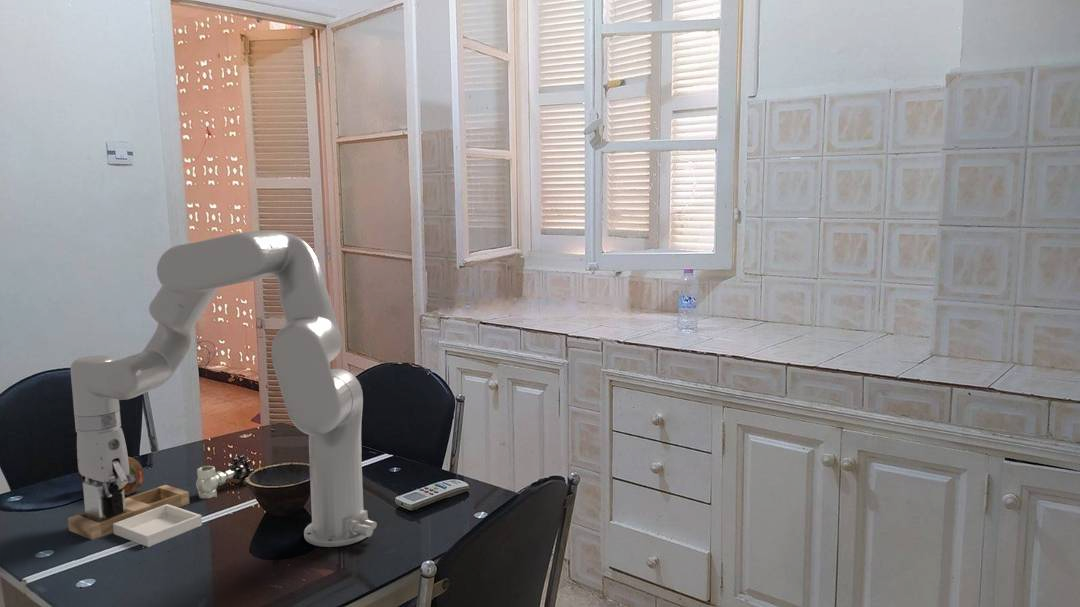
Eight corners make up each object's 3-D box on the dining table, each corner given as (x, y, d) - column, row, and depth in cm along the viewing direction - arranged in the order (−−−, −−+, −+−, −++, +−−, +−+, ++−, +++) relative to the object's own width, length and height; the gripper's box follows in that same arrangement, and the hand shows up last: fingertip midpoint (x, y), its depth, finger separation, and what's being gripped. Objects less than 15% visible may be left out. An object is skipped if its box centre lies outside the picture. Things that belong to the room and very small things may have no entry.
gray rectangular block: (126, 523, 148) (123, 479, 147) (101, 532, 144) (97, 487, 142) (112, 518, 150) (108, 474, 149) (86, 527, 146) (82, 482, 145)
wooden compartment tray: (189, 505, 158) (188, 491, 157) (92, 542, 141) (90, 526, 140) (166, 498, 162) (165, 484, 161) (69, 532, 145) (67, 517, 144)
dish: (202, 527, 147) (201, 515, 147) (148, 549, 138) (147, 536, 137) (168, 515, 153) (167, 503, 152) (113, 536, 143) (112, 523, 143)
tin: (78, 492, 165) (75, 455, 164) (90, 487, 168) (87, 451, 167) (136, 498, 162) (133, 460, 161) (147, 493, 165) (144, 456, 164)
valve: (210, 504, 159) (254, 485, 170) (208, 474, 158) (253, 456, 169) (188, 498, 162) (233, 480, 172) (186, 469, 161) (232, 452, 172)
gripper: (143, 422, 143) (150, 513, 145) (93, 410, 152) (100, 496, 154) (103, 432, 137) (111, 528, 139) (53, 419, 145) (61, 509, 148)
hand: (105, 510), depth 147 cm, fingers open, 5 cm apart
